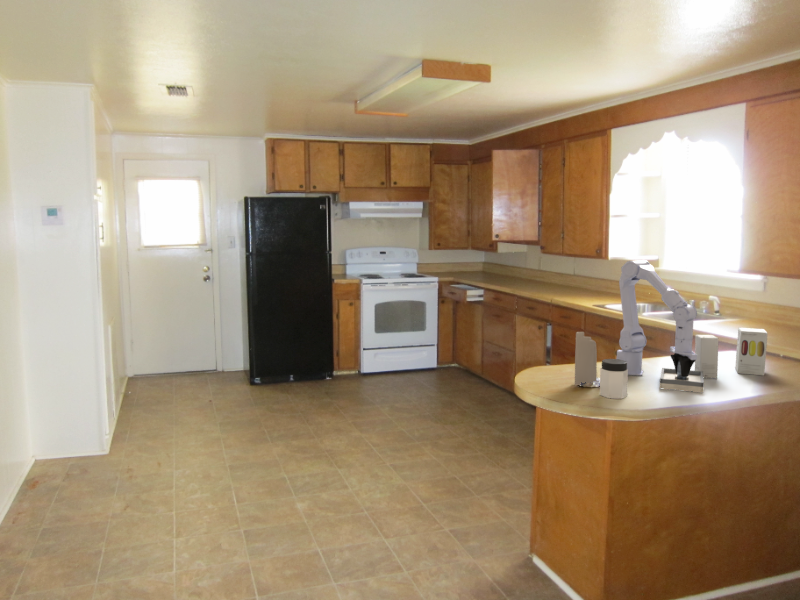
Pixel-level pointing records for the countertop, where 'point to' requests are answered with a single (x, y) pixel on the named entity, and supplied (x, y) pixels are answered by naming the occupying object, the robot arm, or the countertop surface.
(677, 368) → the peg
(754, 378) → the countertop surface
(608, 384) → the jar
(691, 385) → the tray
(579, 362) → the beige stepped upright panel
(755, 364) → the supplement box
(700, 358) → the skincare box
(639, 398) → the countertop surface
